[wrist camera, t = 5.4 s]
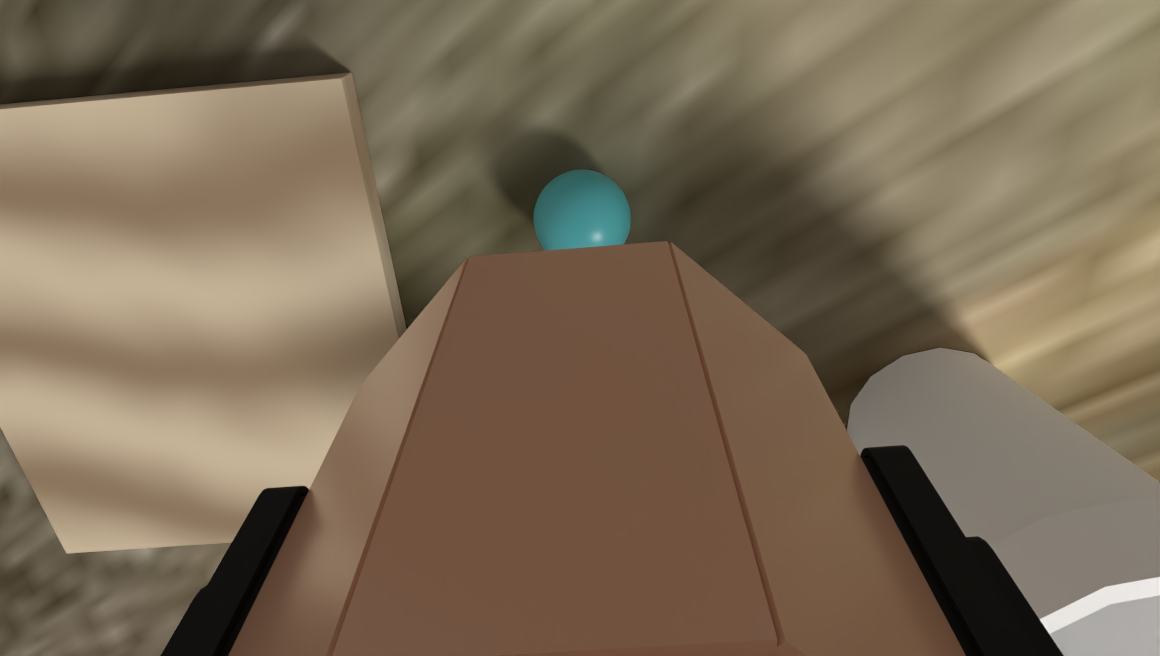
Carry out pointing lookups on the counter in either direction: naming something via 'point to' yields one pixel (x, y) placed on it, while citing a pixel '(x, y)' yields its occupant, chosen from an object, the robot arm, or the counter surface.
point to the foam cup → (1029, 494)
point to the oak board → (185, 300)
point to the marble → (581, 212)
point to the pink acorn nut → (593, 485)
